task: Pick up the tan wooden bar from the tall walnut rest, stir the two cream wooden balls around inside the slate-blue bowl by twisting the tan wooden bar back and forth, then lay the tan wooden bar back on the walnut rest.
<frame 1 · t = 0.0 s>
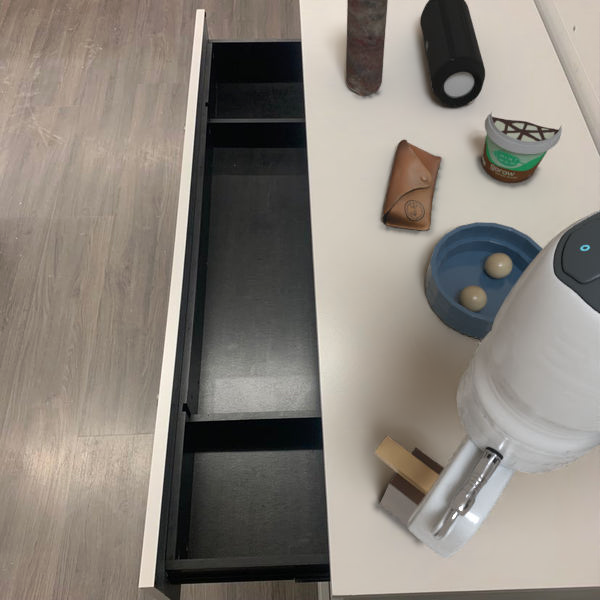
hand: (477, 455, 46), 23 cm above the table, tool pointing down, fingers open, 8 cm apart
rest: (410, 504, 66), on the table
portable speaker: (445, 70, 110), on the table
ball a: (469, 305, 80), point 1 cm above the table, touching bowl
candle: (362, 85, 109), on the table
food container: (505, 175, 94), on the table
tan wooden bar: (426, 482, 56), point 12 cm above the table, touching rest
ball b: (494, 273, 83), point 1 cm above the table, touching bowl
bowl: (481, 291, 82), on the table
sunglasses case: (412, 190, 93), on the table
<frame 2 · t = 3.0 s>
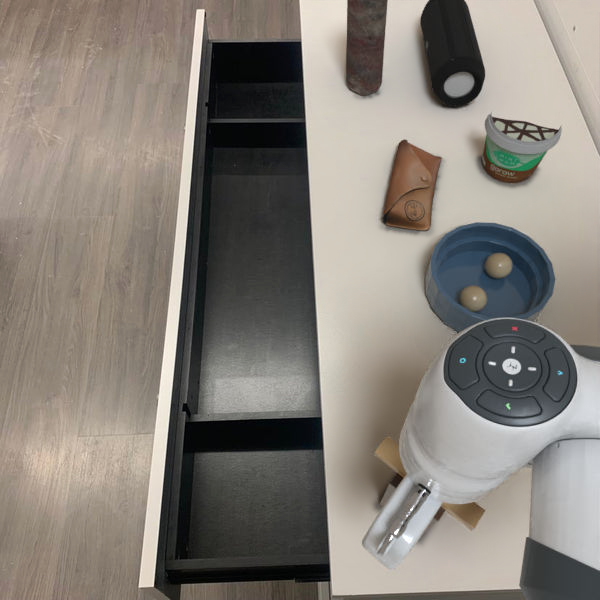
hand: (427, 482, 56), 12 cm above the table, tool pointing down, fingers closed on tan wooden bar, 2 cm apart
tan wooden bar: (426, 482, 56), point 12 cm above the table, touching gripper, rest
everything else where it was.
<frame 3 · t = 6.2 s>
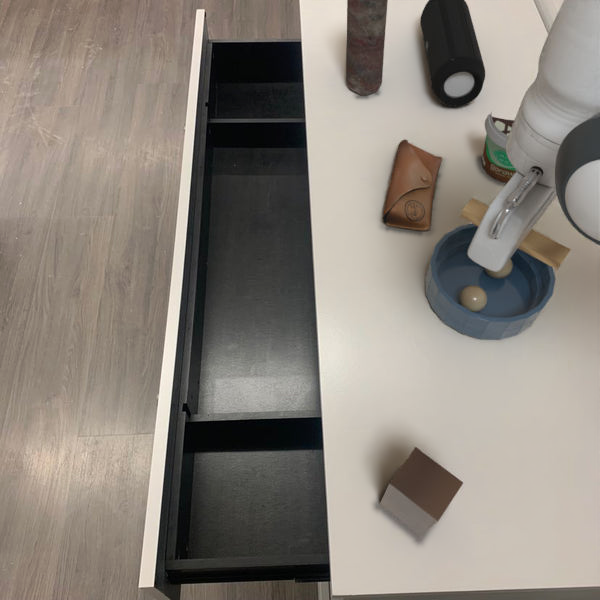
hand: (513, 234, 59), 22 cm above the table, tool pointing down, fingers closed on tan wooden bar, 2 cm apart
tan wooden bar: (511, 236, 60), point 22 cm above the table, touching gripper
everything else where it was.
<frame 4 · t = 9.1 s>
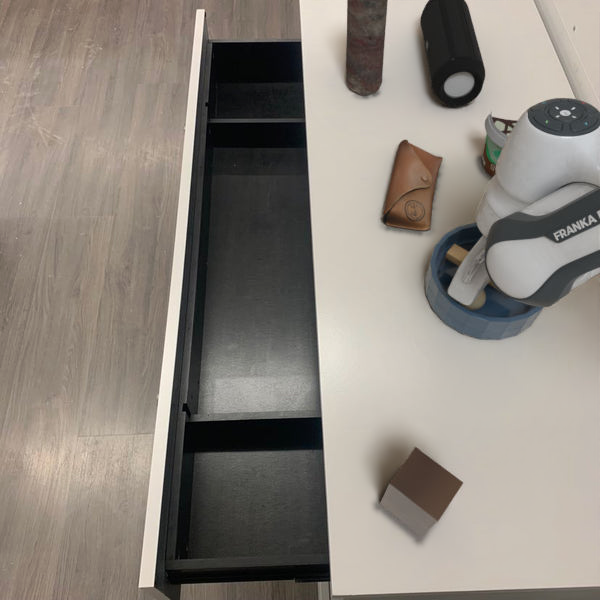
hand: (484, 273, 79), 4 cm above the table, tool pointing down, fingers closed on tan wooden bar, 2 cm apart
ball a: (469, 305, 80), point 1 cm above the table, tilted 9°, touching bowl, gripper
tan wooden bar: (483, 274, 79), point 4 cm above the table, touching gripper
ball b: (494, 273, 83), point 1 cm above the table, tilted 8°, touching bowl, gripper
everything else where it was.
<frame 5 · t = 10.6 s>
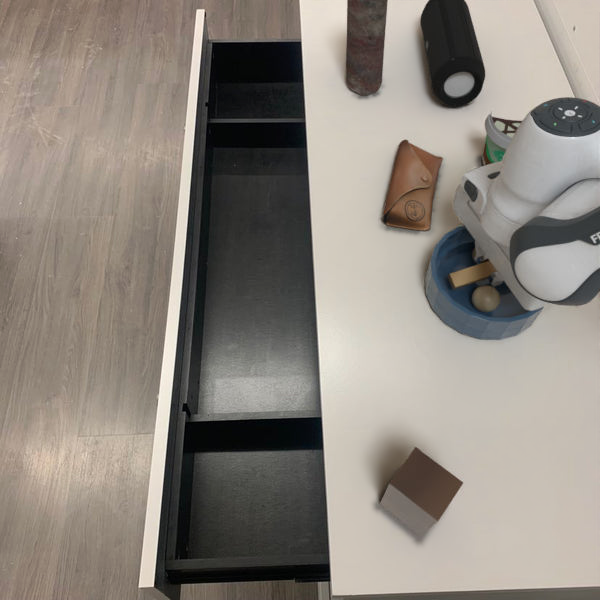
hand: (487, 271, 79), 3 cm above the table, tool pointing down, fingers closed on tan wooden bar, 2 cm apart
ball a: (472, 302, 79), point 1 cm above the table, tilted 57°, touching bowl, gripper
tan wooden bar: (486, 271, 80), point 3 cm above the table, tilted 15°, touching gripper
ball b: (495, 262, 82), point 2 cm above the table, tilted 73°, touching bowl, gripper
everything else where it was.
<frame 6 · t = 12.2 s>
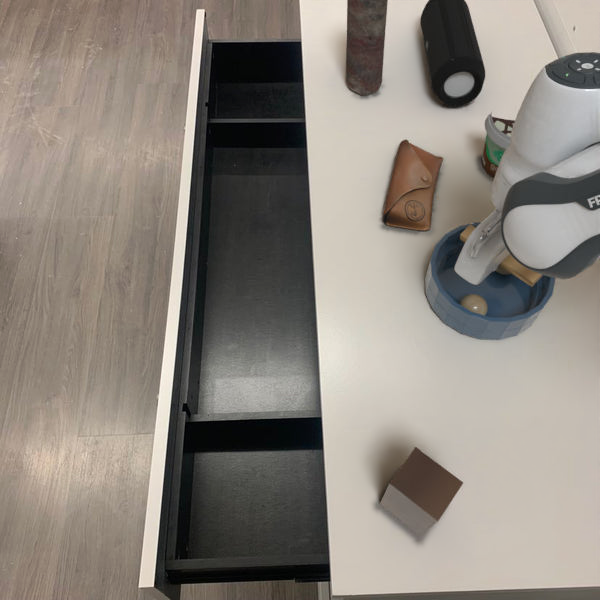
hand: (499, 257, 74), 9 cm above the table, tool pointing down, fingers closed on tan wooden bar, 2 cm apart
ball a: (470, 304, 79), point 1 cm above the table, tilted 43°, touching bowl
tan wooden bar: (499, 257, 74), point 9 cm above the table, tilted 14°, touching gripper
ball b: (498, 268, 83), point 1 cm above the table, tilted 20°, touching bowl
everything else where it was.
when the fingers open (12 cm above the table, at t = 17.8 s): tan wooden bar stays where it is, resting on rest.
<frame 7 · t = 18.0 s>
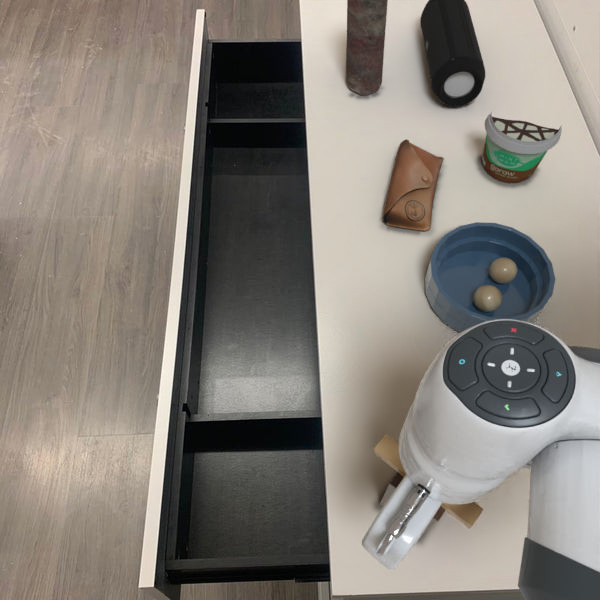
hand: (426, 482, 56), 12 cm above the table, tool pointing down, fingers open, 4 cm apart
ball a: (474, 301, 79), point 1 cm above the table, tilted 57°, touching bowl
tan wooden bar: (424, 480, 56), point 12 cm above the table, touching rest
ball b: (498, 267, 82), point 1 cm above the table, tilted 47°, touching bowl
everything else where it was.
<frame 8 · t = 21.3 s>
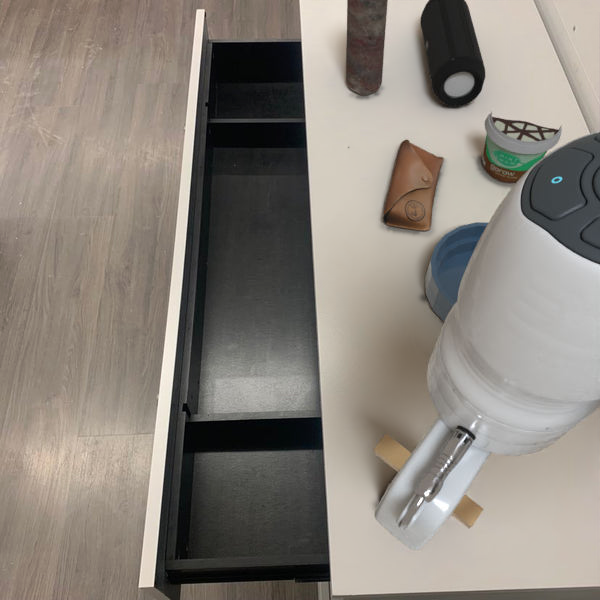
hand: (456, 441, 43), 27 cm above the table, tool pointing down, fingers open, 8 cm apart
ball a: (480, 295, 79), point 2 cm above the table, tilted 87°, touching bowl
ball b: (499, 267, 82), point 2 cm above the table, tilted 68°, touching bowl
everything else where it was.
at the end: ball a moved 2.3 cm from its start; ball a inside the target area in the bowl (2.7 cm from its centre), point 2.5 cm above the bowl's base; tan wooden bar 0.2 cm off-centre on the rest, point 12.0 cm above the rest's base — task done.
